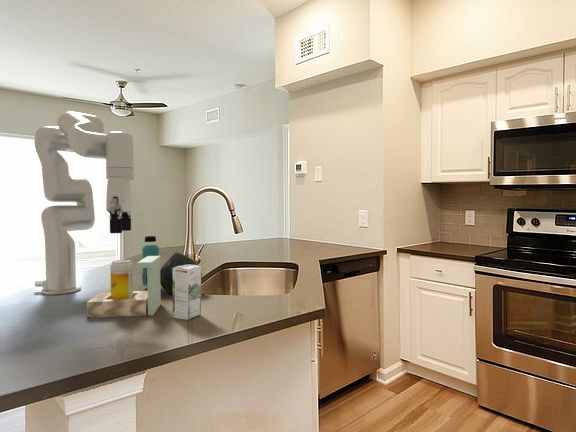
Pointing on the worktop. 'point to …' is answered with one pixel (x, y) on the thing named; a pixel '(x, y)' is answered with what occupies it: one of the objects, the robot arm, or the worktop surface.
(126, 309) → the socket
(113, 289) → the beer can
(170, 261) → the squash
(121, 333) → the worktop surface
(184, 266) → the syrup box
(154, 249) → the beverage bottle
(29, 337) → the worktop surface
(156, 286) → the mint green slab
